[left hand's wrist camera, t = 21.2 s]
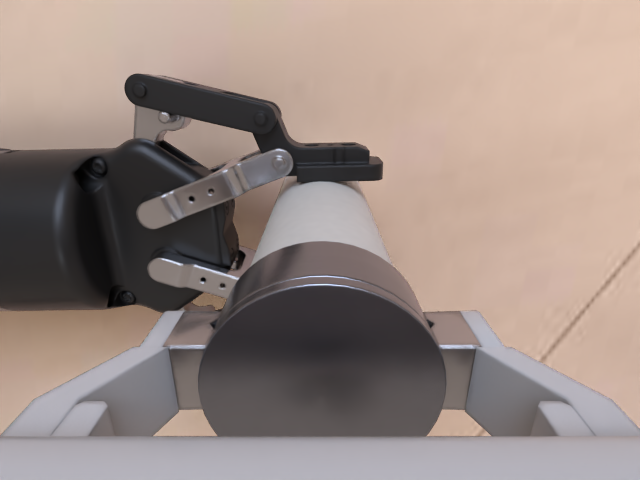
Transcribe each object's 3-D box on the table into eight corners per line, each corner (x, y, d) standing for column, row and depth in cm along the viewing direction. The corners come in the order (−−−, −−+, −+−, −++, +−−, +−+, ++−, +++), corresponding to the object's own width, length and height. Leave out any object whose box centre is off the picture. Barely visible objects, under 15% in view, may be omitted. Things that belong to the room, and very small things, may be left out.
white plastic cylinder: (303, 238, 26) (276, 468, 10) (269, 172, 24) (177, 325, 9) (370, 209, 25) (453, 409, 9) (340, 139, 23) (381, 241, 8)
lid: (182, 296, 10) (145, 352, 8) (368, 202, 9) (383, 237, 7) (285, 432, 12) (277, 508, 10) (450, 365, 11) (482, 433, 9)
